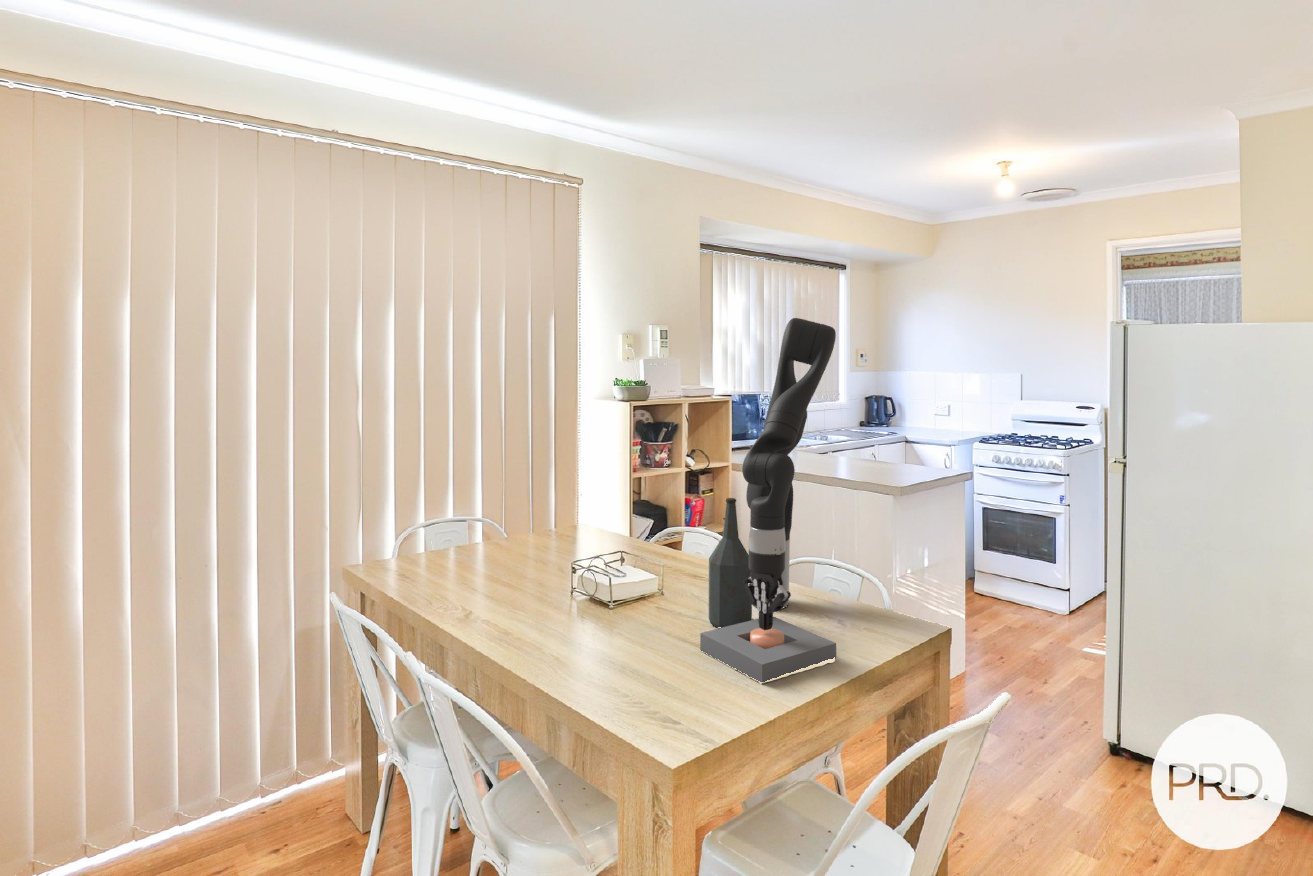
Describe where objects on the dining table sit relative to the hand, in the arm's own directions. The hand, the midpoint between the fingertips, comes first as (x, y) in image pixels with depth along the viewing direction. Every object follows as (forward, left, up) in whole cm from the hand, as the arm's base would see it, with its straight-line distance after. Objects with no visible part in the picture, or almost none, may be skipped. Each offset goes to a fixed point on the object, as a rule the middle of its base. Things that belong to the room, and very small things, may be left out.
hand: (765, 628), depth 158 cm
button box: (0, 0, -6) cm, 6 cm away
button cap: (0, 0, -5) cm, 5 cm away
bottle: (-20, +6, -6) cm, 22 cm away
